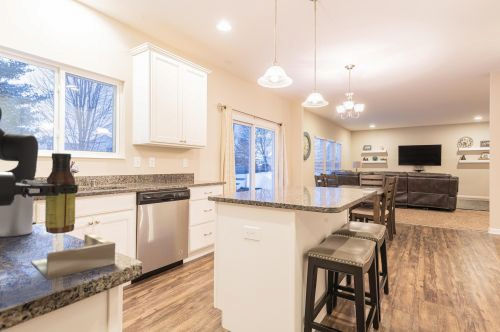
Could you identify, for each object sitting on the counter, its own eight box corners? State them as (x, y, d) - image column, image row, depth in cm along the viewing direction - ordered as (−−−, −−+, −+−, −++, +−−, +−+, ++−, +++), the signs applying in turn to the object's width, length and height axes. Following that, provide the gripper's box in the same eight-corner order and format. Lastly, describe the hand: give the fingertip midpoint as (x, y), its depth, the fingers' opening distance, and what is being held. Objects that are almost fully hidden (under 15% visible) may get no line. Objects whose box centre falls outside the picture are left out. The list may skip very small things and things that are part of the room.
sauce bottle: (69, 228, 74) (74, 154, 75) (78, 232, 70) (82, 154, 71) (40, 231, 69) (44, 152, 70) (47, 235, 65) (52, 152, 66)
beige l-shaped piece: (31, 262, 66) (31, 241, 66) (91, 251, 77) (92, 232, 77) (48, 279, 57) (49, 255, 57) (114, 263, 68) (115, 243, 68)
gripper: (-11, 172, 55) (83, 174, 67) (-20, 170, 64) (64, 172, 77) (-13, 211, 54) (82, 205, 67) (-22, 203, 64) (63, 199, 77)
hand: (72, 187), depth 72 cm, fingers closed on sauce bottle, 6 cm apart
